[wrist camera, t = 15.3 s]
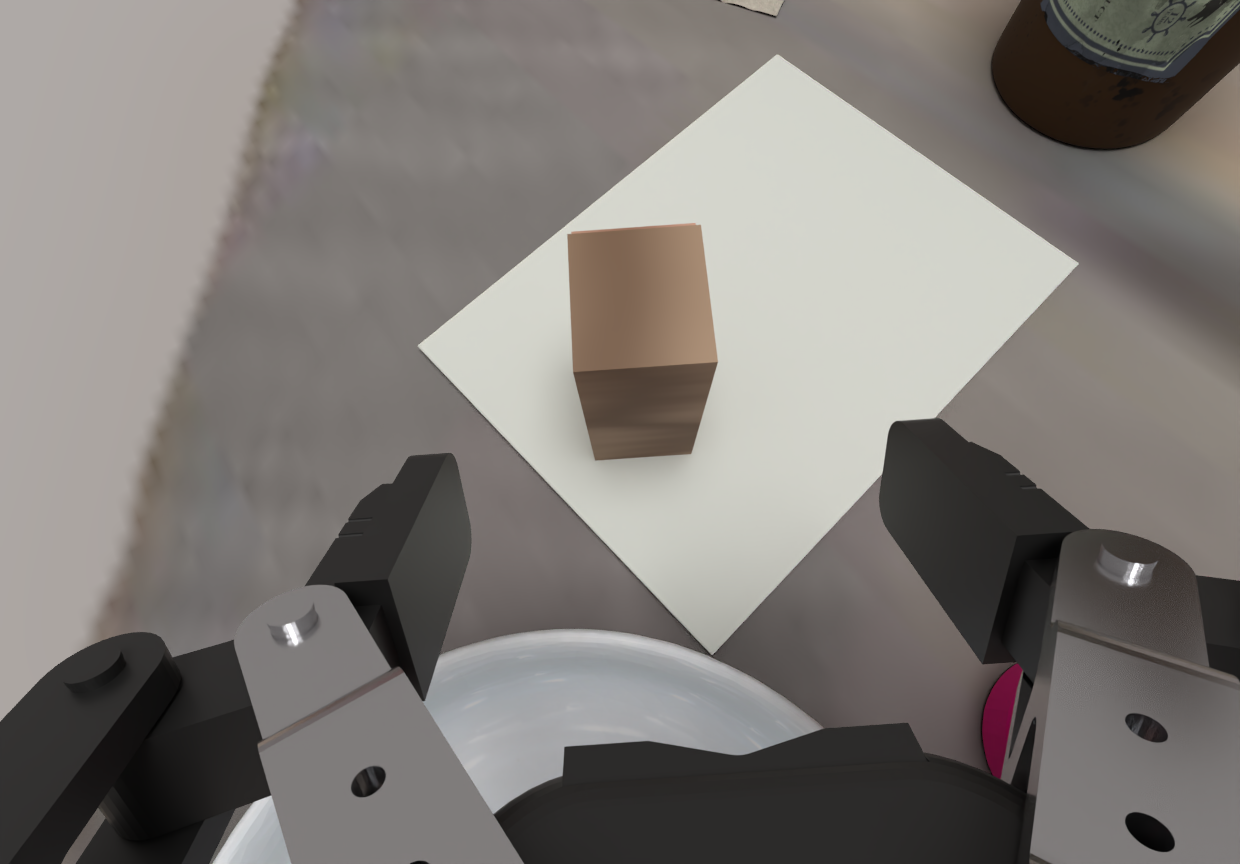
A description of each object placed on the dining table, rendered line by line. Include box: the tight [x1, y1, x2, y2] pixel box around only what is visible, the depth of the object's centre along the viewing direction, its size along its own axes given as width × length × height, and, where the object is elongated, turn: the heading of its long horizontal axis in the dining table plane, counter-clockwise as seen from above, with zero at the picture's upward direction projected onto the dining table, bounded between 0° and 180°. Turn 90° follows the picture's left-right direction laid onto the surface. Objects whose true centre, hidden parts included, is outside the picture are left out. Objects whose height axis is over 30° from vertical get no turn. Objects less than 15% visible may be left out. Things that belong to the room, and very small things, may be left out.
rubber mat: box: [418, 54, 1079, 655], centre depth 28 cm, size 18×24×1 cm
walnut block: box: [567, 223, 718, 461], centre depth 22 cm, size 4×5×9 cm
